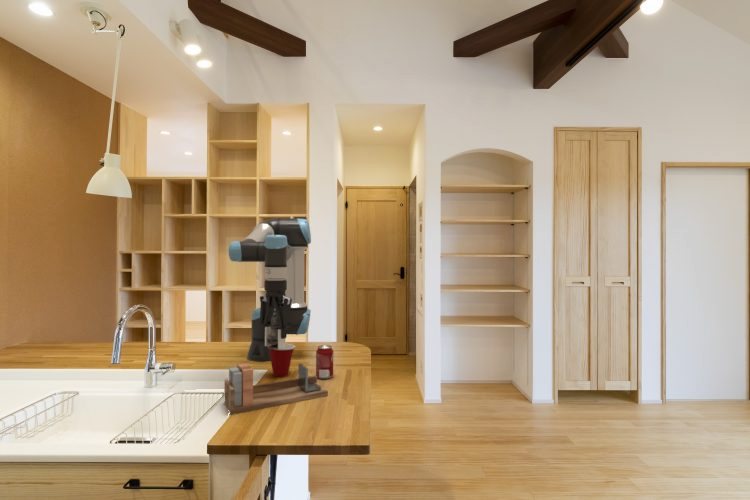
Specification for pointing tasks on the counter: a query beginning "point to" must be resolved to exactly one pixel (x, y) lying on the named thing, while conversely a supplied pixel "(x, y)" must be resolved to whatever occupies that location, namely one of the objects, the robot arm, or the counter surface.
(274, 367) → the plastic cup
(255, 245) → the robot arm
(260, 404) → the wooden book rack
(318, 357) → the soda can
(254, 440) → the counter surface
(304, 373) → the bookend
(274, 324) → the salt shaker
